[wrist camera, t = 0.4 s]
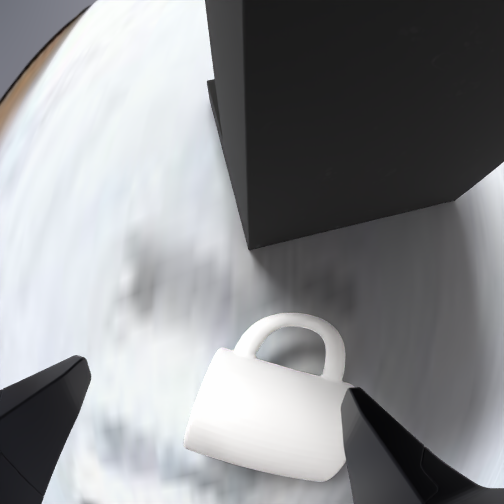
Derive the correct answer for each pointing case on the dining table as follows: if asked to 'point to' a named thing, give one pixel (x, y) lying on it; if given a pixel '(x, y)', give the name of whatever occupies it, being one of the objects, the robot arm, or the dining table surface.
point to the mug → (272, 406)
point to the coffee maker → (353, 107)
